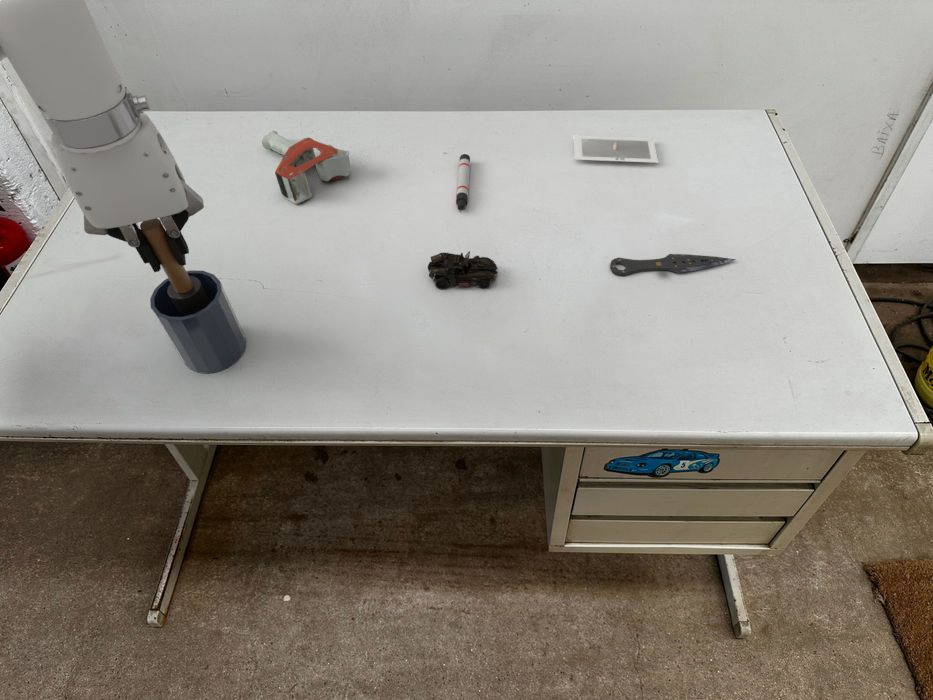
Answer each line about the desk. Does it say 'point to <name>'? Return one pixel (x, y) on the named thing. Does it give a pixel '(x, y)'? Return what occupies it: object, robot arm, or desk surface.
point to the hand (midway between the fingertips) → (169, 260)
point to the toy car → (461, 270)
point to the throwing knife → (667, 263)
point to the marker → (463, 181)
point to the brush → (175, 272)
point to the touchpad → (614, 149)
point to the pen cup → (202, 327)
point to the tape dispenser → (304, 164)
